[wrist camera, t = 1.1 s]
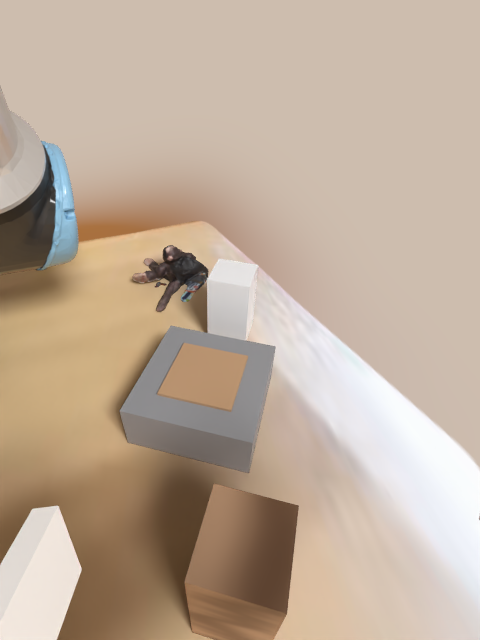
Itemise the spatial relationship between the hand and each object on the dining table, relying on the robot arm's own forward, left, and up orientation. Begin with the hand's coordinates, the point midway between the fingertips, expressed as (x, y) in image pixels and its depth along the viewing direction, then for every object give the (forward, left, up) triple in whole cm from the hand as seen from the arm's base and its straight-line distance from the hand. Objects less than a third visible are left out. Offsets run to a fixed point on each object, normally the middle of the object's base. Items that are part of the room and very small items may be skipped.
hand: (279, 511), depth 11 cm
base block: (-14, +14, -20) cm, 28 cm away
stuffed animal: (-33, +30, -21) cm, 49 cm away
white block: (-19, +26, -20) cm, 38 cm away
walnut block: (-2, +2, -20) cm, 21 cm away
